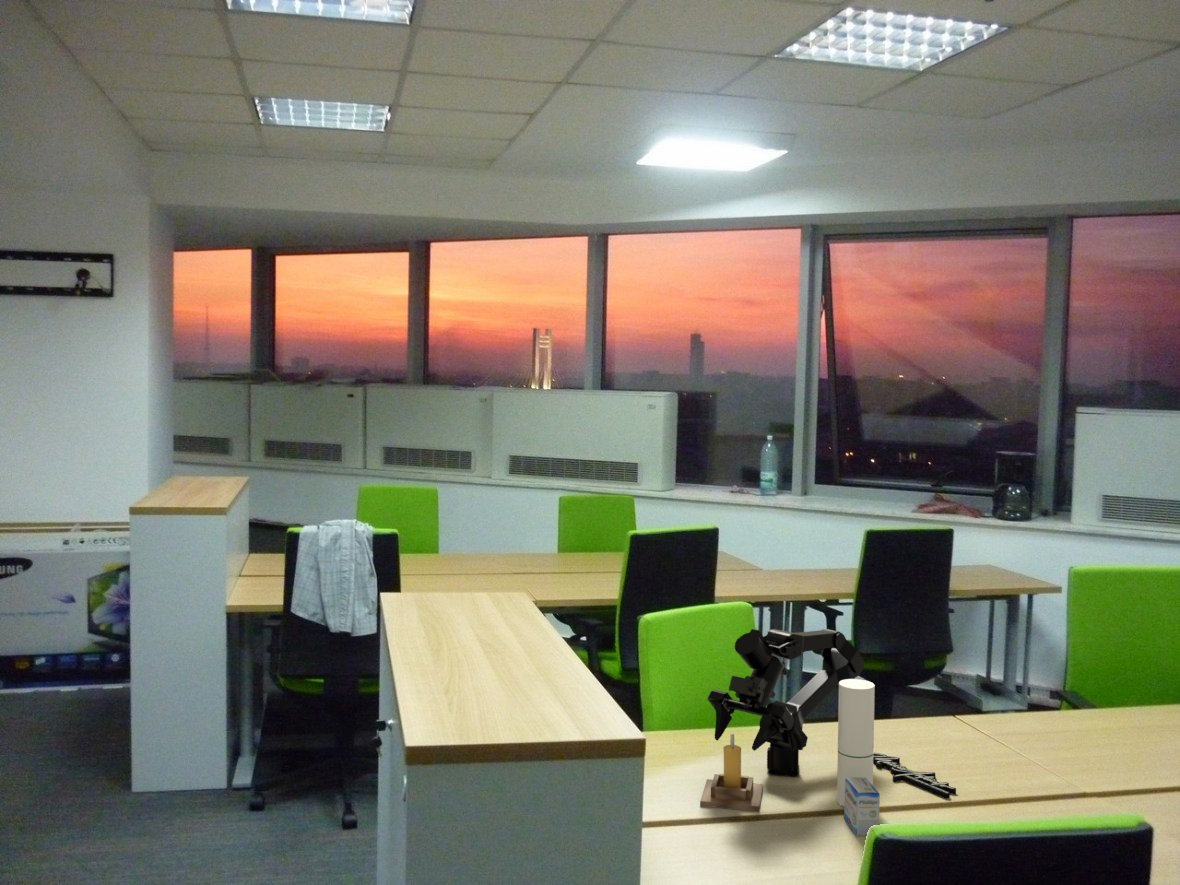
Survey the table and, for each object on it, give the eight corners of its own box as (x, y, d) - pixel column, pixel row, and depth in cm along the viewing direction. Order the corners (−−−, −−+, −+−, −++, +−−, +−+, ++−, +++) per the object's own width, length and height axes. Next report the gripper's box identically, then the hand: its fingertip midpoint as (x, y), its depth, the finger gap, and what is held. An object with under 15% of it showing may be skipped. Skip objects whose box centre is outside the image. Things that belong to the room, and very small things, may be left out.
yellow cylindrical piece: (741, 789, 219) (741, 731, 218) (740, 796, 216) (740, 737, 215) (724, 788, 220) (724, 730, 219) (722, 794, 217) (722, 736, 216)
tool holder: (762, 788, 222) (763, 773, 222) (759, 811, 211) (759, 795, 210) (706, 783, 225) (707, 769, 225) (700, 805, 213) (700, 790, 213)
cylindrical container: (873, 798, 217) (875, 680, 216) (871, 811, 211) (873, 690, 209) (838, 793, 220) (840, 677, 218) (835, 806, 213) (837, 687, 211)
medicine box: (843, 819, 207) (844, 777, 206) (865, 818, 207) (866, 776, 207) (856, 837, 199) (857, 792, 199) (879, 836, 200) (880, 792, 199)
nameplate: (842, 755, 239) (872, 747, 244) (842, 762, 239) (872, 753, 244) (939, 796, 216) (971, 786, 221) (939, 803, 216) (971, 793, 221)
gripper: (712, 652, 227) (682, 715, 219) (787, 668, 214) (758, 735, 207) (731, 680, 233) (703, 741, 225) (806, 697, 221) (778, 762, 213)
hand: (734, 744), depth 218 cm, fingers open, 9 cm apart
